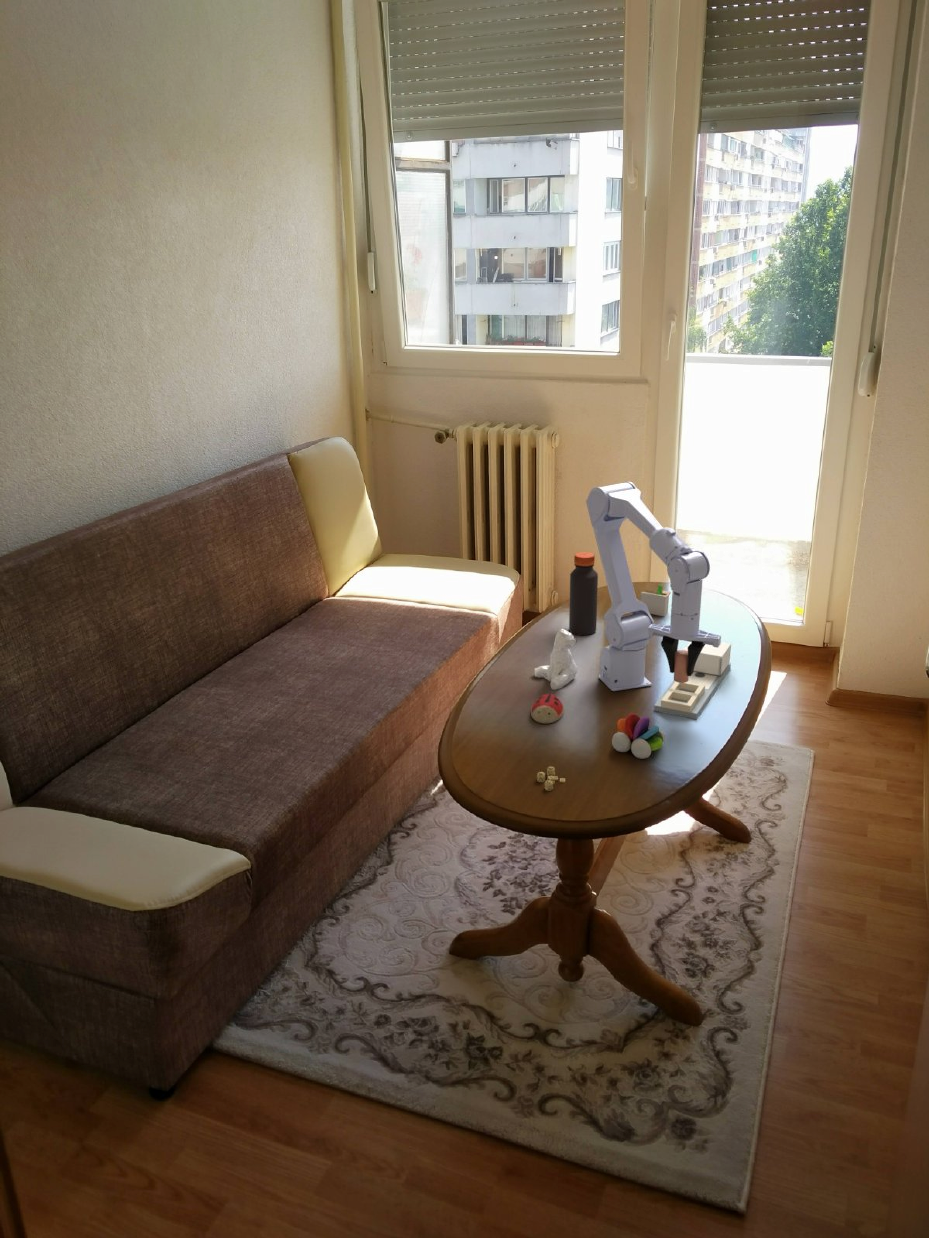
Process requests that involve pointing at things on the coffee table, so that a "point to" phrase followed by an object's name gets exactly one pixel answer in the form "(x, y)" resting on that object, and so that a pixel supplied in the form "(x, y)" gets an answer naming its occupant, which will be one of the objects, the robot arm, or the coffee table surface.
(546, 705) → the ladybug figurine
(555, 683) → the white creature statuette
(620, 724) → the rainbow fan toy
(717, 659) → the block
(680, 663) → the peg
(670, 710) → the board
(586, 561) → the bottle
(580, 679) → the coffee table surface
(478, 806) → the coffee table surface
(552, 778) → the dice set
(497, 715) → the coffee table surface
